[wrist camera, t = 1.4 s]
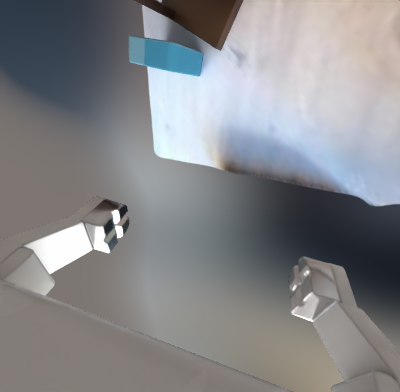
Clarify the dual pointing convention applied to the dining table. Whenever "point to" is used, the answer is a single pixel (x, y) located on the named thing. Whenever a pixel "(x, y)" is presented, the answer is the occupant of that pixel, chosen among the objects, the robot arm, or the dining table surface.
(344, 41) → the dining table surface
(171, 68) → the data package
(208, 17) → the shelf
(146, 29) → the dining table surface
